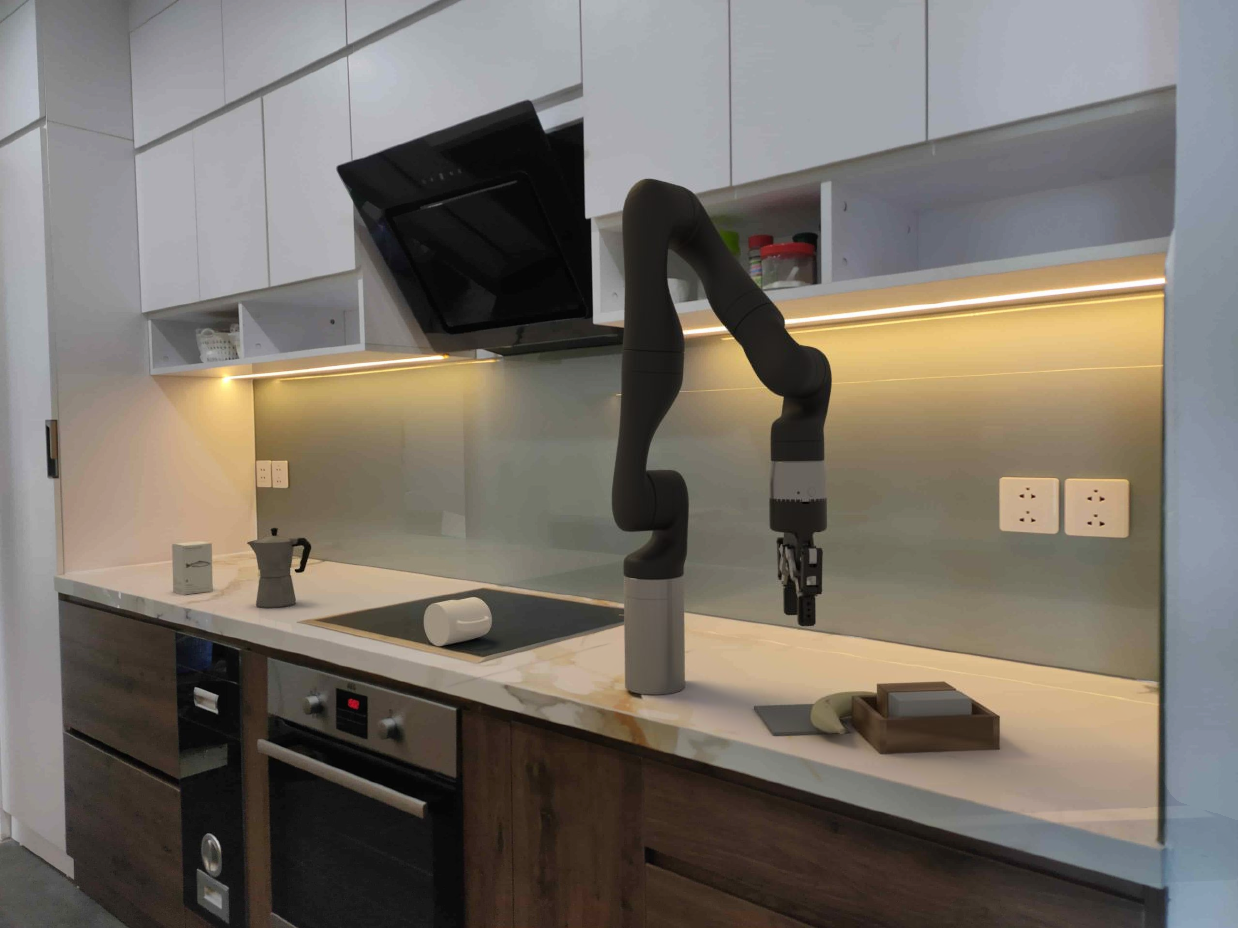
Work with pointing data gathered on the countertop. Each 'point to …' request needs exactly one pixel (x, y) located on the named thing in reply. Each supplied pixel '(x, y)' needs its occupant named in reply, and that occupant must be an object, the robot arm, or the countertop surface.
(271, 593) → the coffeepot
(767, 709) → the mat
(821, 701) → the fruit
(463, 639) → the mug
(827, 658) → the countertop surface
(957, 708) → the offcut grey
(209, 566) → the supplement box
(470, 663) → the countertop surface
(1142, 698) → the countertop surface
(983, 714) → the wooden tray
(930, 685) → the offcut teak
